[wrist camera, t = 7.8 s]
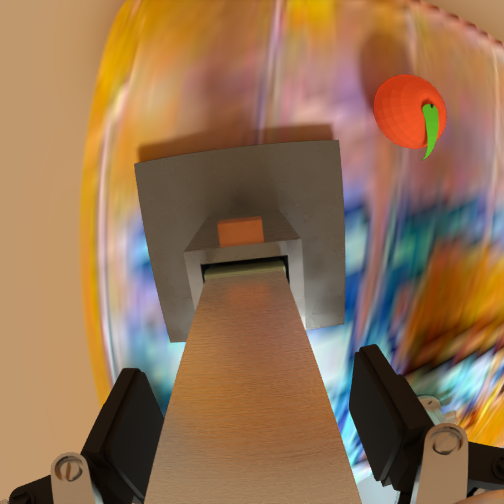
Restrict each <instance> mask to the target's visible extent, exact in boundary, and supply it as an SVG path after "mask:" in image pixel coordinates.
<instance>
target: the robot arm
mask: <svg viewBox="0 0 504 504" xmlns="http://www.w3.org/2000/svg"><path fill="white" fill-rule="evenodd" d="M349 410H350V414H351V416H352V419H353V421H354V424H355V427H356V429H357V432H358V435H359V437H360V440H361V443H362V445H363V448H364V451H365V453H366V456H367V459H368V461H369V464H370V467H371V470H372V473H373V475H374V478H375V480H376V481H381V483H382V486H383V487H384V486H387V485H390V484H392V486H393V488H394V490H396V491H398V492H397V496H396V500H395V504H504V448H499V447H493V446H488V445H483V444H478V443H473V442H469V441H468V438H467V434H466V433H465V431H464V430H463V429H462V428H461V427H460V426H458V425H456V424H457V417H456V412H455V410H451V411H449V412H447V413H445V414H443V413H441V405H440V402H439V401H438V399H437V398H436V397H434V396H430V395H424V396H419V397H417V396H416V394H415V393H414V391H413V390H412V388H411V386H410V385H409V383H408V382H407V380H406V379H405V378H404V376H403V375H401V374H398V375H396V373H395V371H394V370H393V368H392V367H391V365H390V364H389V362H388V361H387V359H386V358H385V356H384V355H383V353H382V352H381V350H380V349H379V347H378V346H377V345H376V344H373V345H369V346H364V347H361V348H360V349H359V352H356V353H355V356H354V366H353V375H352V384H351V392H350V399H349ZM163 424H164V417H163V415H162V413H161V411H160V408H159V406H158V404H157V401H156V399H155V397H154V394H153V392H152V389H151V387H150V385H149V382H148V380H147V377H146V375H145V373H144V372H141V371H140V369H138V368H124V369H122V371H121V373H120V375H119V377H118V379H117V381H116V383H115V385H114V387H113V389H112V391H111V392H110V394H109V396H108V399H107V401H106V402H105V403H104V405H103V407H102V409H101V411H100V413H99V415H98V417H97V419H96V421H95V423H94V425H93V428H92V430H91V432H90V434H89V436H88V438H87V440H86V443H85V445H84V447H83V449H82V451H81V454H78V453H74V452H71V453H65V454H62V455H60V456H58V457H57V458H56V459H55V460H54V461H53V463H52V465H51V475H48V476H46V477H44V478H41V479H38V480H36V481H33V482H31V483H28V484H26V485H23V486H21V487H18V488H16V489H15V490H14V491H13V492H12V493H11V495H10V497H9V501H7V500H6V499H5V500H2V501H0V504H132V503H134V504H144V501H145V497H146V492H147V488H148V484H149V479H150V475H151V471H152V467H153V463H154V459H155V455H156V451H157V447H158V443H159V439H160V435H161V431H162V427H163Z"/></svg>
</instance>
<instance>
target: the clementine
mask: <svg viewBox="0 0 504 504" xmlns="http://www.w3.org/2000/svg"><path fill="white" fill-rule="evenodd" d="M374 115H375V119H376V122H377V124H378V126H379V128H380V129H381V131H382V132H383V133H384V134H385V136H386V137H387V138H389V139H390V140H391V141H393V142H394V143H395V144H398V145H400V146H402V147H406V148H412V149H418V148H424V147H427V151H426V155H425V157H424V158H423V159H422V160H424V159H425V158H426V157H428V156H429V154H430V153H431V151H432V150H433V148H434V145H435V142H436V140H437V139H438V138H439V137H440V136H441V135H442V133H443V131H444V129H445V125H446V118H447V116H446V108H445V104H444V101H443V99H442V97H441V95H440V94H439V93H438V91H437V90H436V89H435V88H434V87H433V86H432V85H431V84H430V83H429V82H428V81H426V80H424V79H422V78H420V77H416V76H413V75H409V74H407V75H397V76H394V77H391V78H389V79H388V80H386V81H385V82H384V83H383V84H382V85H381V86H380V87H379V89H378V90H377V92H376V94H375V99H374ZM422 160H421V161H422Z"/></svg>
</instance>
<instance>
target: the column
mask: <svg viewBox="0 0 504 504" xmlns="http://www.w3.org/2000/svg"><path fill="white" fill-rule="evenodd" d="M204 277H205V283H204V286H203V289H202V292H201V295H200V299H199V302H198V305H197V308H196V312H195V315H194V318H193V321H192V325H191V328H190V331H189V335H188V338H187V341H186V345H185V348H184V352H183V355H182V359H181V362H180V366H179V369H178V373H177V376H176V380H175V383H174V387H173V390H172V394H171V398H170V401H169V405H168V409H167V412H166V416H165V420H164V424H163V427H162V431H161V435H160V439H159V443H158V447H157V451H156V455H155V459H154V463H153V467H152V471H151V475H150V479H149V484H148V488H147V492H146V497H145V501H144V504H362V503H361V499H360V496H359V492H358V489H357V486H356V483H355V479H354V476H353V473H352V470H351V466H350V463H349V460H348V457H347V454H346V450H345V447H344V444H343V441H342V438H341V435H340V432H339V429H338V425H337V422H336V419H335V416H334V413H333V410H332V407H331V404H330V401H329V398H328V395H327V392H326V389H325V386H324V383H323V380H322V377H321V374H320V371H319V368H318V365H317V362H316V360H315V357H314V354H313V351H312V348H311V345H310V342H309V339H308V336H307V334H306V331H305V328H304V325H303V322H302V319H301V316H300V314H299V311H298V308H297V305H296V302H295V300H294V297H293V294H292V291H291V288H290V286H289V283H288V280H287V277H286V273H285V265H284V263H283V260H282V261H280V258H279V256H273V257H264V258H255V259H246V260H237V261H228V262H219V263H211V264H210V267H209V269H206V271H205V274H204Z"/></svg>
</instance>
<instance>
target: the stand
mask: <svg viewBox="0 0 504 504" xmlns="http://www.w3.org/2000/svg"><path fill="white" fill-rule="evenodd" d="M134 167H135V174H136V182H137V189H138V195H139V202H140V208H141V214H142V220H143V225H144V231H145V236H146V242H147V247H148V252H149V257H150V261H151V266H152V271H153V275H154V280H155V284H156V288H157V292H158V297H159V301H160V305H161V309H162V313H163V316H164V320H165V324H166V328H167V331H168V335H169V338H170V342H186V341H187V338H188V335H189V331H190V328H191V325H192V321H193V318H194V315H195V312H196V308H197V305H198V302H199V299H200V295H201V292H202V289H203V286H204V283H205V277H204V274H205V271H206V269H209V267H210V264H211V263H219V262H228V261H237V260H246V259H255V258H264V257H273V256H279V258H280V261H282V260H283V263H284V265H285V273H286V277H287V280H288V283H289V286H290V288H291V291H292V294H293V297H294V300H295V302H296V305H297V308H298V311H299V314H300V316H301V319H302V322H303V325H304V328H305V331H306V330H309V329H316V328H323V327H329V326H335V325H341V324H344V315H345V224H344V201H343V184H342V170H341V158H340V147H339V140H321V141H301V142H286V143H273V144H262V145H252V146H242V147H234V148H226V149H218V150H211V151H204V152H197V153H190V154H184V155H178V156H172V157H167V158H161V159H156V160H151V161H146V162H141V163H136V164H134Z"/></svg>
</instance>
